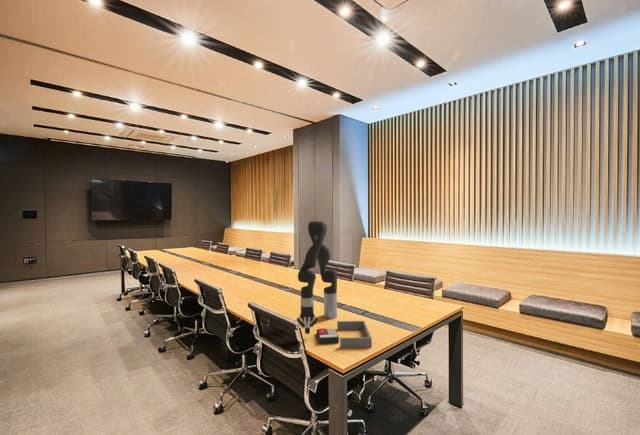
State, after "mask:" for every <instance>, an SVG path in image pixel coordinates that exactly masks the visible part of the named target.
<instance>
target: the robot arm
mask: <svg viewBox="0 0 640 435" xmlns="http://www.w3.org/2000/svg"><path fill="white" fill-rule="evenodd" d="M327 226H328V225H327V223H326V221H318V220H317V221H315V220H312V221H309V223H308V225H307V228H308V229H307V230H308V234H309V235H308V236H309V237H310V239H311V242H312V245H311V246H310V247H309V248H308V249H307V251H306V254H305V257H304V262H303V264H302V266H301V268H300V270H299V271H298V273H297V280H298V281H299V283H305V284H307V285H305V286H302V287H301V288H300V314H299V316H298V317H296V321H297V323H298V324H299V323H300V324H299V325H300V326H301V327H302V328H304V333H305V335H309V334H310V333H311V328H313V327H314V325H315V324H316V323H317V322H318V320H319V317H318V316H315V313H314V309H315V308H314V286H315V282H316V280H317V279H316V278H317V276H316V273H315V271H314V270H310V269H313V268H315V267H316V264H317V262H318V267H319V272H320V278H321V281H322V282H323V283H325V284H330V285H329V286H325V287H324V288H323V317H324V318H325V319H336V318H338V300H337V299H338V271H337V270H335V269H328V268H326V267H327V265H328V264H329V261H330V259H331V253H330V250H329V247H328V246H327V244H326V243H325V242H324V240H325V237H326V235H327V231H328V230H327V228H328V227H327Z"/></svg>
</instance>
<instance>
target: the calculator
mask: <svg viewBox="0 0 640 435" xmlns="http://www.w3.org/2000/svg"><path fill="white" fill-rule="evenodd" d="M316 336H317V340H318V343H319V345H328V344H329V345H332V344H340V337H339V334H338V333H337V331H336V329H335V328H334V327H328V328H317V329H316Z"/></svg>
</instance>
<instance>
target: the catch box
mask: <svg viewBox="0 0 640 435" xmlns="http://www.w3.org/2000/svg"><path fill="white" fill-rule="evenodd" d="M336 324H337V328H336V329H337V330H338V331H341V330H342V331H343V330H344V331H345V330H346V331H347V330H351V331H352V330H363V333H364V336H365V337H361V336H360V337H339V346H340V347H339V348H341V349H342V348H347V349H348V348H372V344H373V342H372V336H371V334H370V330H369V329H368V327H367V324H366V321H365V320H338V321H337V323H336Z"/></svg>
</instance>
